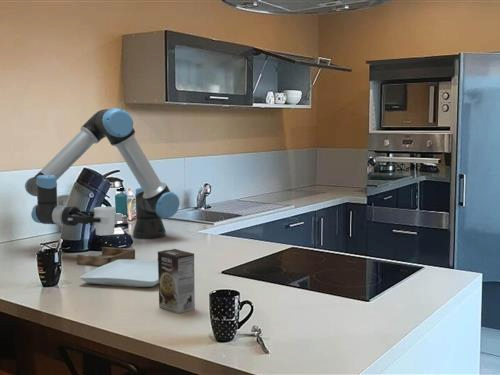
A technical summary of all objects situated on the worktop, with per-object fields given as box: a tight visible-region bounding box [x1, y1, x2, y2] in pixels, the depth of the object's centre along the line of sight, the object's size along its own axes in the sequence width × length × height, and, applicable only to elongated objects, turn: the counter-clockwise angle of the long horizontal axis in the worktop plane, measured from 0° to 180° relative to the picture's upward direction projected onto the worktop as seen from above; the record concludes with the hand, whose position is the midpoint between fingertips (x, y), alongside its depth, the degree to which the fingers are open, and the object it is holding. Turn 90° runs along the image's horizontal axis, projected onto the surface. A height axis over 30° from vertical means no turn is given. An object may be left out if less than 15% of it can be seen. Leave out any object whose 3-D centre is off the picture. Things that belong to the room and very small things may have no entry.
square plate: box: [79, 259, 159, 288], centre depth 202 cm, size 27×27×4 cm
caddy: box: [76, 246, 136, 267], centre depth 228 cm, size 15×16×4 cm
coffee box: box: [157, 248, 196, 315], centre depth 167 cm, size 9×6×16 cm
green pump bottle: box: [114, 186, 129, 218], centre depth 310 cm, size 6×7×20 cm
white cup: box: [93, 206, 116, 236], centre depth 226 cm, size 8×8×10 cm
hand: (115, 219), depth 224 cm, fingers closed on white cup, 8 cm apart
